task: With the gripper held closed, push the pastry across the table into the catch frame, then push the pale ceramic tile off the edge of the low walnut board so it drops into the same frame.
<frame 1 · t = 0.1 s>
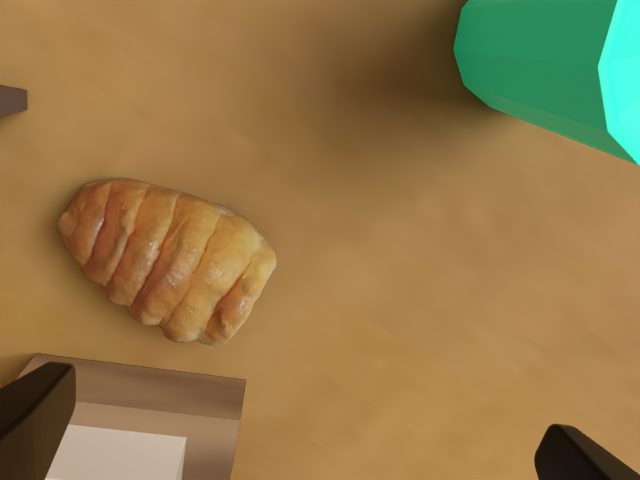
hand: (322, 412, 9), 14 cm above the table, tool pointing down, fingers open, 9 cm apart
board: (139, 430, 27), on the table
candle: (522, 38, 20), on the table
pastry: (185, 252, 24), on the table
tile: (122, 474, 25), point 3 cm above the table, touching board
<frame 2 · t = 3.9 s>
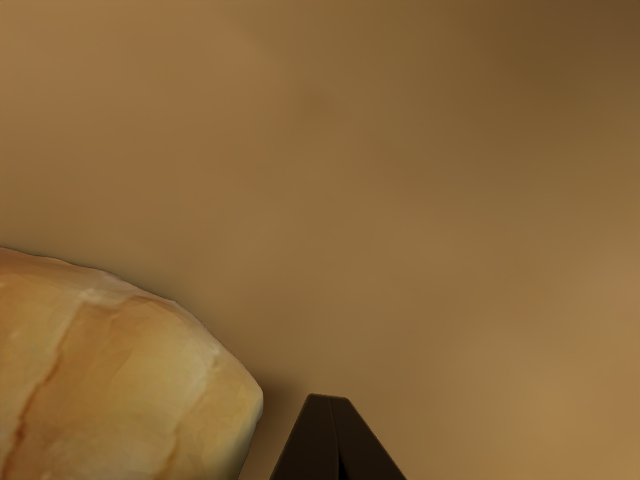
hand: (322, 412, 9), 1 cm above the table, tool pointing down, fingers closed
pastry: (46, 383, 10), on the table, touching gripper
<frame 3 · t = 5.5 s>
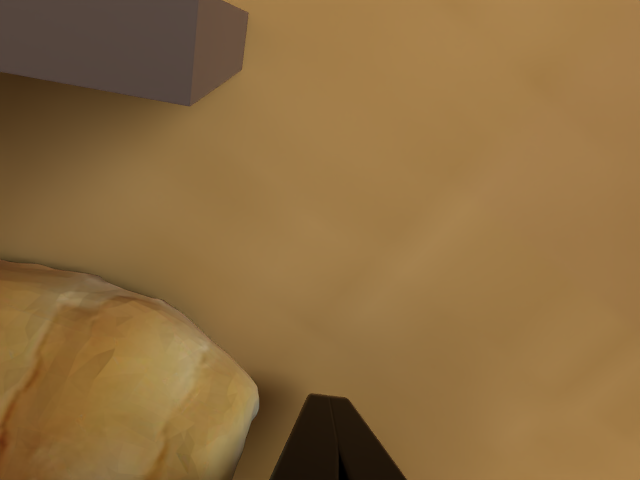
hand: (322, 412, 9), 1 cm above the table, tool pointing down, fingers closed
pastry: (43, 391, 10), on the table, touching gripper
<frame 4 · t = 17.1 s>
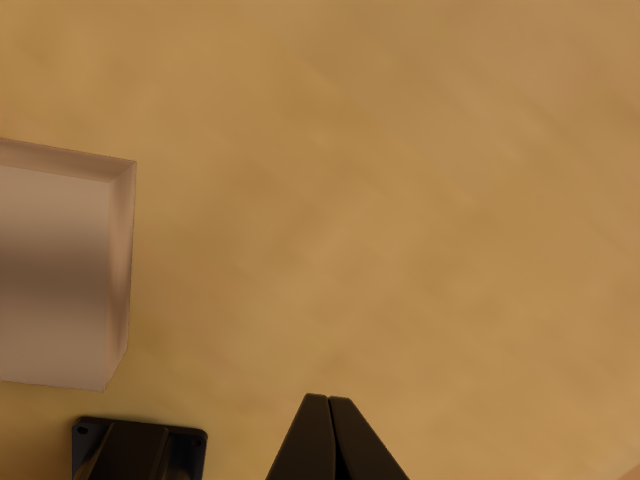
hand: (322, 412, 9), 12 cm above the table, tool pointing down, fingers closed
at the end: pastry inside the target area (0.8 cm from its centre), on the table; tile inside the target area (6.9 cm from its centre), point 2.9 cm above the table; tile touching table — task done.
